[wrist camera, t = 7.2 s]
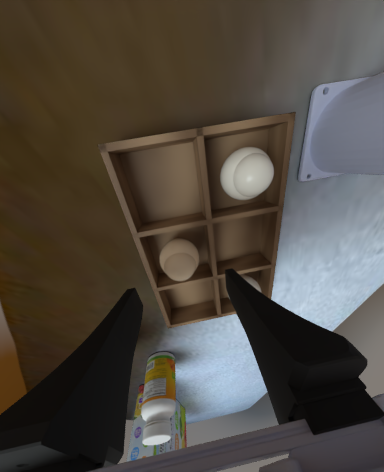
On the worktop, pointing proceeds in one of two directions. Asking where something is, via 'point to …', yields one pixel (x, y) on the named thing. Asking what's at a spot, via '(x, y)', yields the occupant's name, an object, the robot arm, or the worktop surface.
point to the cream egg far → (251, 281)
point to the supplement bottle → (158, 398)
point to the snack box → (175, 443)
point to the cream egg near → (246, 173)
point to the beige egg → (179, 259)
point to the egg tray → (201, 209)
